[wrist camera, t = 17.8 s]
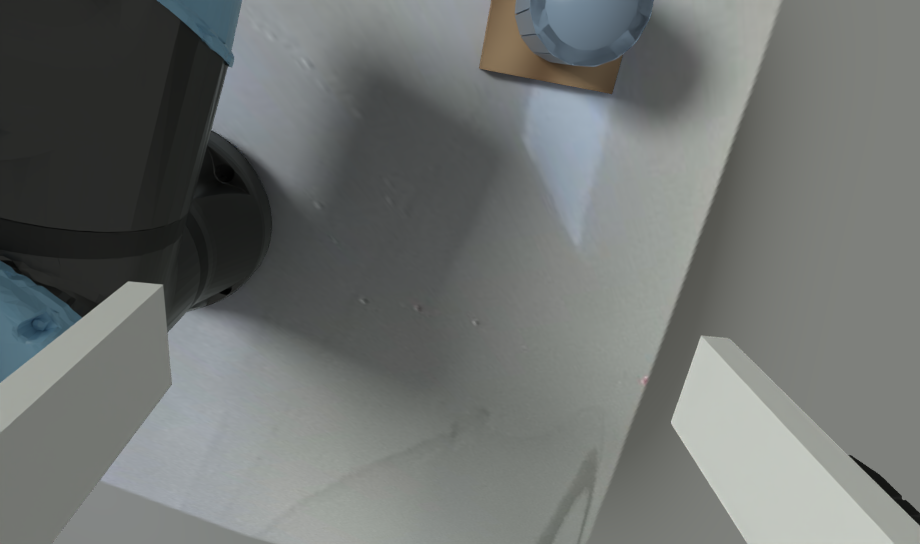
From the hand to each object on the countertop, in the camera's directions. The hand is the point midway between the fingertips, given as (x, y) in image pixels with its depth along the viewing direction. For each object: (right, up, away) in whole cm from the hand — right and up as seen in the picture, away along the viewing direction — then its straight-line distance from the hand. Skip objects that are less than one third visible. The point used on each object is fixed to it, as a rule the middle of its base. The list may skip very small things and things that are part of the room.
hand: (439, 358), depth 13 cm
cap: (+8, +20, +23) cm, 32 cm away
